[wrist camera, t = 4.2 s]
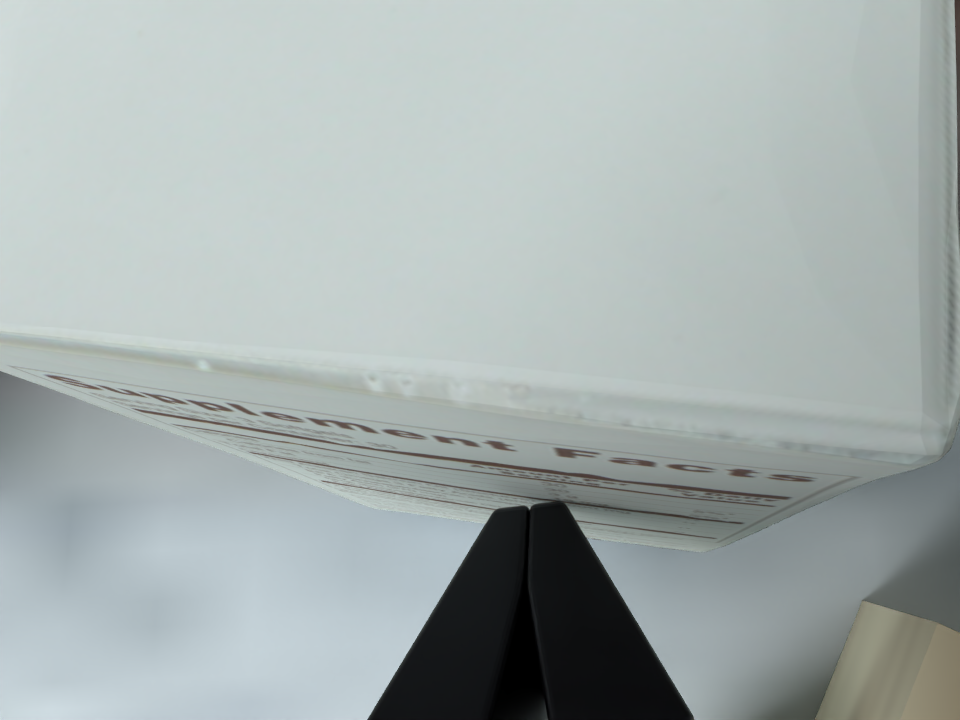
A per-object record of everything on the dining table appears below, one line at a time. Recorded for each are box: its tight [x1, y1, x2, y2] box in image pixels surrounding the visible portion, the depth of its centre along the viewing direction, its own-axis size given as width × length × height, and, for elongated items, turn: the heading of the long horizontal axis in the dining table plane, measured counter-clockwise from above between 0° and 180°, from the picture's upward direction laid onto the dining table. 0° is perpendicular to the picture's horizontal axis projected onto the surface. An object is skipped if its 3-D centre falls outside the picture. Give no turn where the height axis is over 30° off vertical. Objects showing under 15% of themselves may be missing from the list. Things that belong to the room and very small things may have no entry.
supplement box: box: [0, 0, 960, 552], centre depth 12 cm, size 7×7×13 cm
